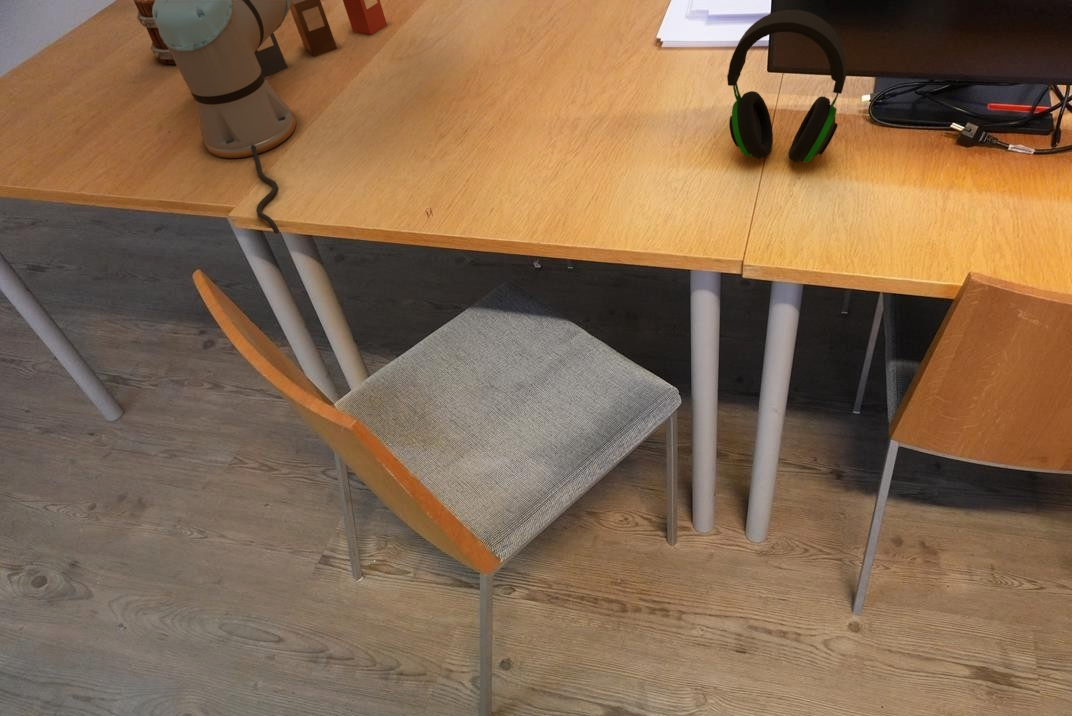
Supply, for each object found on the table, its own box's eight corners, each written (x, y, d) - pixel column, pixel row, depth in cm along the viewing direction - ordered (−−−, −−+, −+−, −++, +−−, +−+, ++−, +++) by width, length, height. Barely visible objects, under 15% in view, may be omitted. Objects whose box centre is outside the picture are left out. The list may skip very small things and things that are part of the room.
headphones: (828, 178, 109) (849, 35, 94) (719, 167, 113) (722, 29, 98) (837, 143, 114) (859, 2, 99) (733, 134, 119) (738, -2, 104)
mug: (139, 63, 157) (107, -19, 147) (194, 44, 167) (167, -34, 157) (182, 69, 153) (152, -15, 143) (235, 49, 163) (210, -31, 153)
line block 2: (337, 48, 153) (319, -5, 146) (314, 57, 152) (294, 4, 144) (328, 40, 156) (309, -12, 149) (305, 48, 155) (284, -4, 147)
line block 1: (288, 67, 150) (266, 14, 142) (264, 77, 148) (241, 24, 140) (277, 59, 152) (255, 7, 145) (253, 69, 151) (230, 16, 143)
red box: (387, 24, 158) (372, -28, 151) (371, 35, 156) (355, -18, 148) (369, 21, 160) (353, -31, 153) (352, 31, 158) (335, -21, 150)
